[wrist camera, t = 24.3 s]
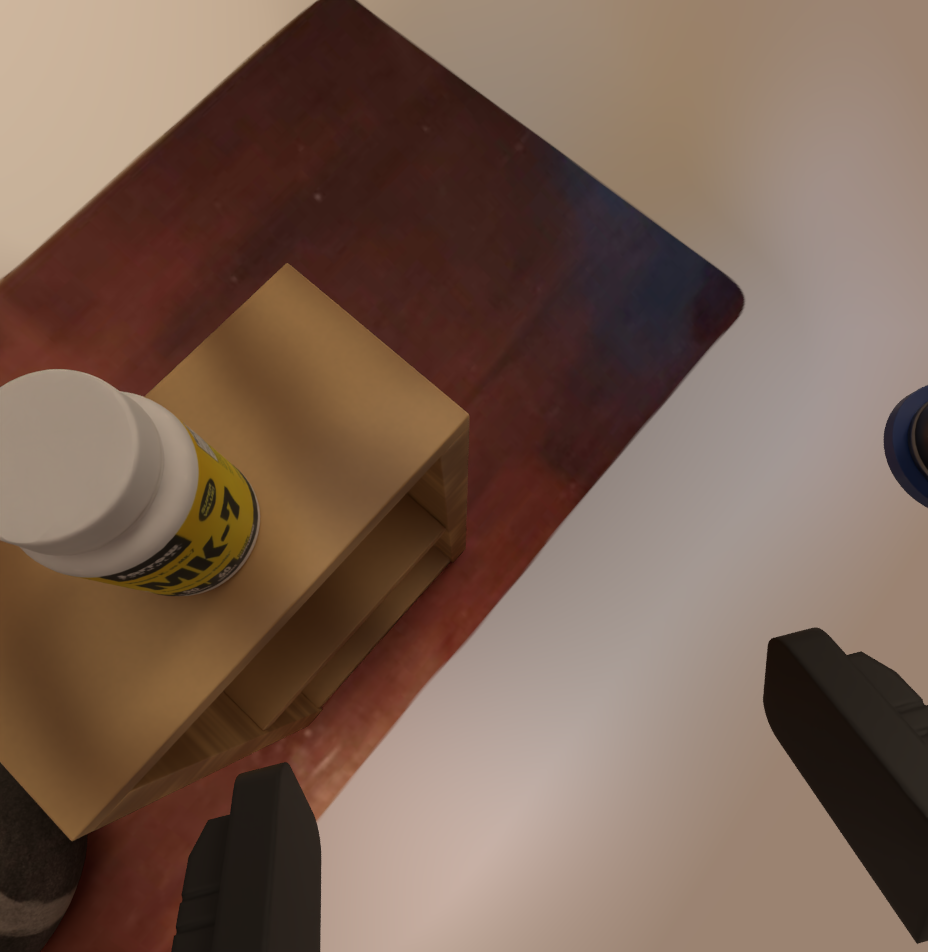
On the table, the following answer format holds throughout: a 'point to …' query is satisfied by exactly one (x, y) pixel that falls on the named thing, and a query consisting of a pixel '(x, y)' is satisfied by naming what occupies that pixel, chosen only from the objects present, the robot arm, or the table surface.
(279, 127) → the table surface
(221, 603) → the wooden shelf
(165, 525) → the supplement bottle
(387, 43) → the table surface
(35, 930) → the decorative stone
